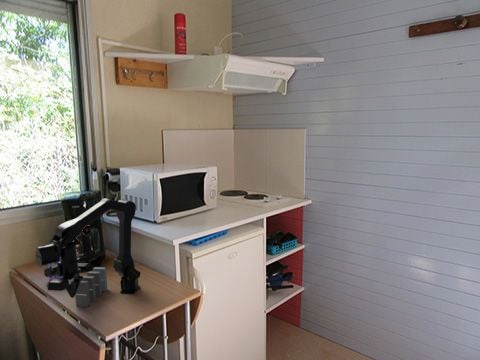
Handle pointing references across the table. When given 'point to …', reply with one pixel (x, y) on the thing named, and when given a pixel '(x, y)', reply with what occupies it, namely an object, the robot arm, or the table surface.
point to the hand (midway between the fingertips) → (72, 297)
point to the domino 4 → (102, 277)
